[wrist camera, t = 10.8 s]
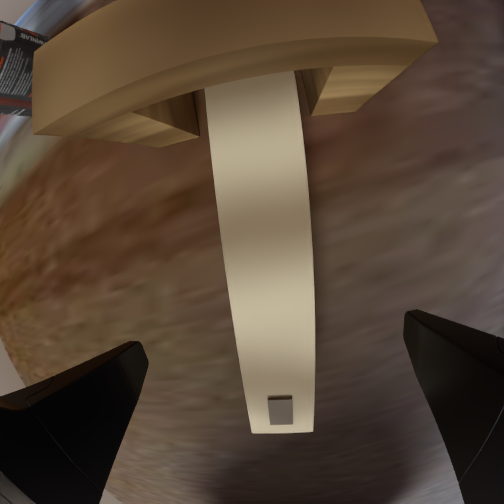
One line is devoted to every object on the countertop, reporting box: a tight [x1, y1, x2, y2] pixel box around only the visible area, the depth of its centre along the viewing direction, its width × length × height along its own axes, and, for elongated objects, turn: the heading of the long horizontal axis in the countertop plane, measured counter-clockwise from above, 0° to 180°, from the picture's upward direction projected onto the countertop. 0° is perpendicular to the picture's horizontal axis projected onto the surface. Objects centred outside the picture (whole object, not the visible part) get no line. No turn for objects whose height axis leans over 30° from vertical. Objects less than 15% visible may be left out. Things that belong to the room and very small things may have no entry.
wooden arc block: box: [32, 0, 438, 148], centre depth 9 cm, size 3×11×10 cm, turn 100°
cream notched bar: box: [205, 71, 315, 433], centre depth 13 cm, size 22×3×5 cm, turn 6°
